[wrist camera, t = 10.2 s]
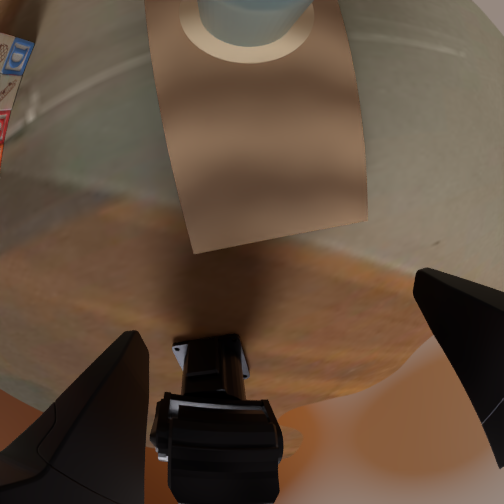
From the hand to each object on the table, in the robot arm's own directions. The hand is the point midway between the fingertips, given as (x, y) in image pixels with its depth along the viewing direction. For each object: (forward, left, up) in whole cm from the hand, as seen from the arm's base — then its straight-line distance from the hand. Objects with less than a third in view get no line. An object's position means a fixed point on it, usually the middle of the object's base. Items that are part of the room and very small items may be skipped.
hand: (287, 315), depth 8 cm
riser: (+7, -2, -13) cm, 15 cm away
